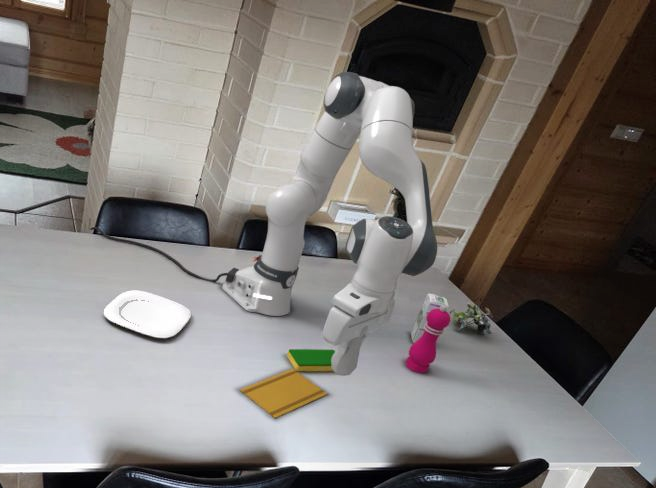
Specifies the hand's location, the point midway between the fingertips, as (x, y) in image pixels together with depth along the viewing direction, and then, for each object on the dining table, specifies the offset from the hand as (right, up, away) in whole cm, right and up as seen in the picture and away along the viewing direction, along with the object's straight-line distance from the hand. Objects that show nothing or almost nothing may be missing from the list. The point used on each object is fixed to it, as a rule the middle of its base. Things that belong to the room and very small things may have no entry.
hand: (348, 350), depth 142 cm
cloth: (-11, -10, +18) cm, 23 cm away
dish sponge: (-1, -3, +32) cm, 32 cm away
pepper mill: (+30, -4, +40) cm, 50 cm away
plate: (-46, +9, +36) cm, 59 cm away
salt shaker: (-1, -5, +3) cm, 6 cm away
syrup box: (+36, +4, +54) cm, 65 cm away
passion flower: (+55, +7, +65) cm, 85 cm away
